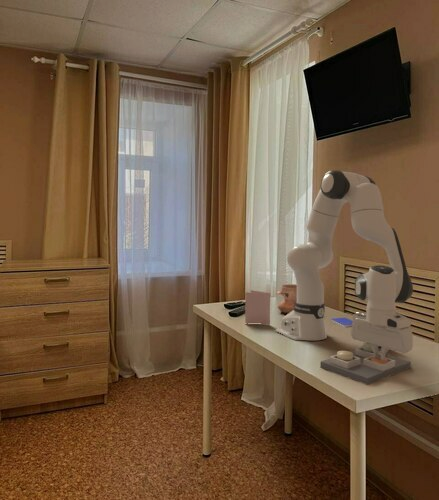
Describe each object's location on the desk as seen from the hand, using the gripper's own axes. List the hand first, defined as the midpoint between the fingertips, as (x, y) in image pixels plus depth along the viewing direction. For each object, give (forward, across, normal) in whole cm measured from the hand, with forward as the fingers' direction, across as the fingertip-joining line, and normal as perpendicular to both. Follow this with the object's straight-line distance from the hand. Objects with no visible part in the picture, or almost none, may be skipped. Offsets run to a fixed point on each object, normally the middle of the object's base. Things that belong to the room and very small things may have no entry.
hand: (379, 358), depth 137 cm
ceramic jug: (+5, -75, +39) cm, 85 cm away
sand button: (+1, -8, -7) cm, 11 cm away
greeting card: (+4, -69, +8) cm, 70 cm away
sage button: (+1, -8, +7) cm, 11 cm away
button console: (+4, -5, 0) cm, 7 cm away
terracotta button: (+2, 0, 0) cm, 2 cm away
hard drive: (+5, -46, +43) cm, 63 cm away
